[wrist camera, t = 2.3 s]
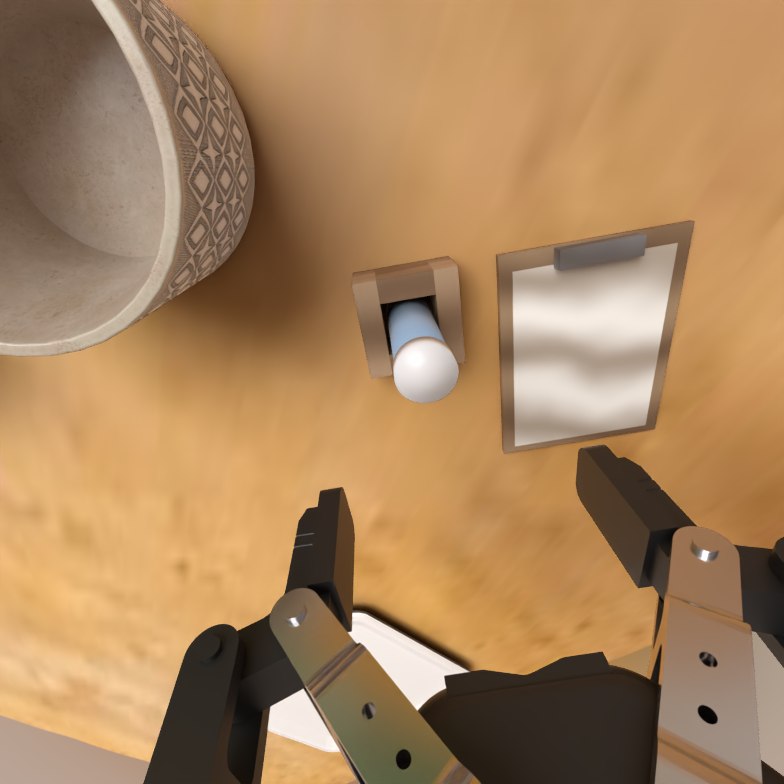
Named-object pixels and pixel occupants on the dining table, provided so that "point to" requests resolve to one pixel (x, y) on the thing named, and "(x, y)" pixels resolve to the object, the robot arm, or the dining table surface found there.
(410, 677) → the plate
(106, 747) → the dining table surface
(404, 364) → the marker
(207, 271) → the planter
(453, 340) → the pen block
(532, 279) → the clipboard
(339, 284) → the dining table surface
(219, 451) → the dining table surface
